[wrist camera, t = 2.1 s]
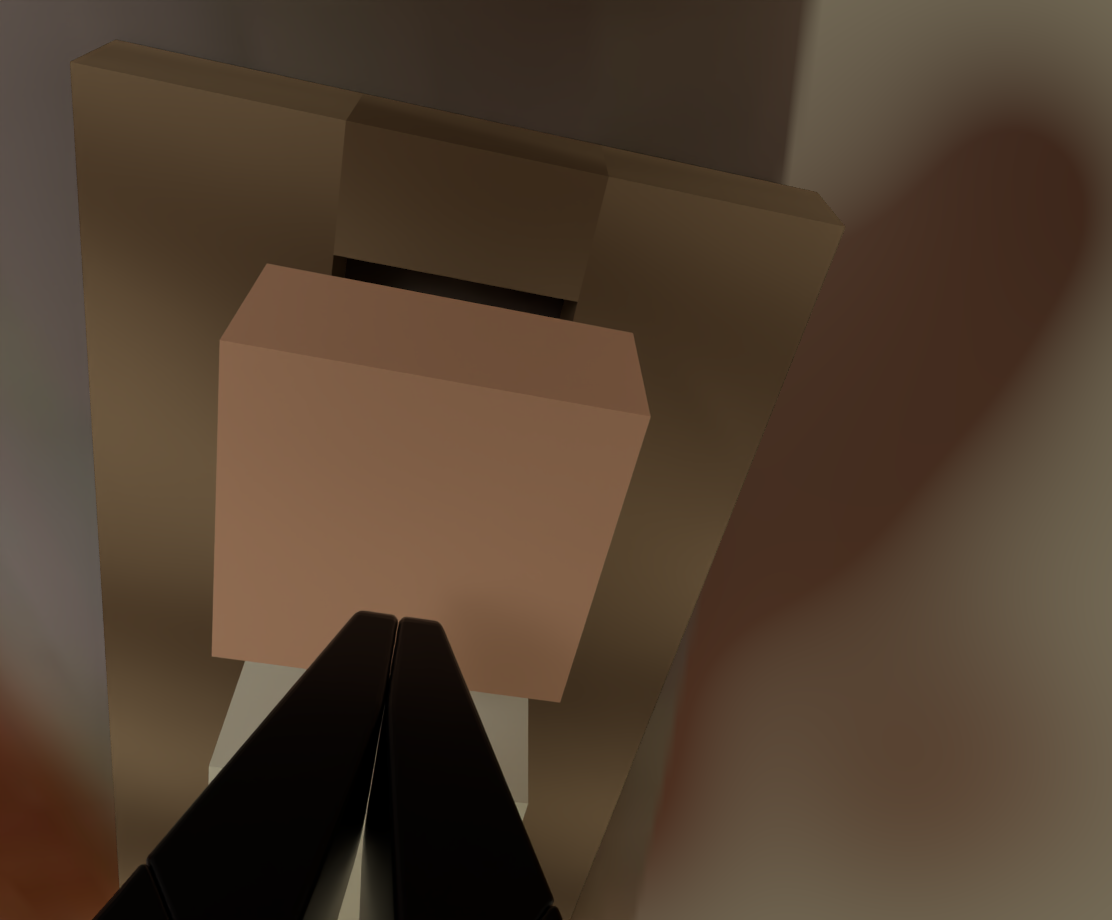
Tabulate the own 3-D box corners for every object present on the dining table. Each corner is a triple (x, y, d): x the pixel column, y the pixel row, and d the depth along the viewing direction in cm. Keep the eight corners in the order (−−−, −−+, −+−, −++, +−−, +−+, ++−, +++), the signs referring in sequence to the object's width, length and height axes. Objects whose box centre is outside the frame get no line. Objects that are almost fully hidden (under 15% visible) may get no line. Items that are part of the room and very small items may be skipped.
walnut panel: (541, 932, 25) (541, 991, 23) (145, 893, 23) (123, 954, 22) (816, 192, 14) (845, 226, 13) (114, 39, 13) (70, 61, 11)
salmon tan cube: (554, 535, 15) (559, 702, 12) (275, 491, 15) (212, 656, 12) (623, 284, 13) (650, 417, 10) (293, 220, 12) (219, 339, 9)
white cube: (484, 791, 19) (475, 967, 16) (256, 763, 18) (204, 943, 15) (528, 629, 16) (527, 804, 13) (268, 593, 16) (209, 766, 13)
